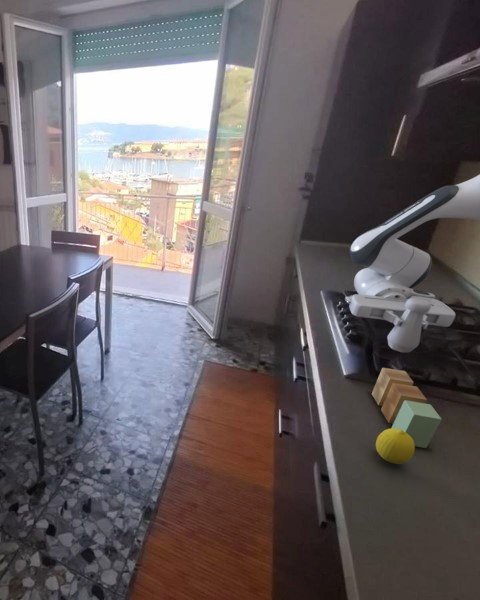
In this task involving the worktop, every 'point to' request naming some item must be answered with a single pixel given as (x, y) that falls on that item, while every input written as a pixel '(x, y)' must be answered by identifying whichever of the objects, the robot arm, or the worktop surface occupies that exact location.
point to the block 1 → (389, 383)
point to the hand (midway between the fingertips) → (412, 325)
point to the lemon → (395, 446)
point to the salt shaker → (409, 326)
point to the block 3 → (417, 422)
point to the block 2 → (400, 399)
